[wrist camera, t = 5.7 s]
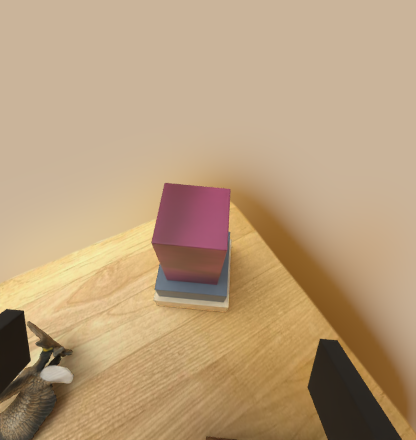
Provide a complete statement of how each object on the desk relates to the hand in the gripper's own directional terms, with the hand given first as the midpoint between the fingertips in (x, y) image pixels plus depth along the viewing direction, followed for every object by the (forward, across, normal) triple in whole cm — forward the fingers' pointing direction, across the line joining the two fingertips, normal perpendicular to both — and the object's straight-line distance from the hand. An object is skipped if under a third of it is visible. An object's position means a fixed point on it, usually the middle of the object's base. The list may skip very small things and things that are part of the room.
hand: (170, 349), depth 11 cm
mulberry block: (+14, 0, -2) cm, 14 cm away
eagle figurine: (+9, -14, -15) cm, 23 cm away
